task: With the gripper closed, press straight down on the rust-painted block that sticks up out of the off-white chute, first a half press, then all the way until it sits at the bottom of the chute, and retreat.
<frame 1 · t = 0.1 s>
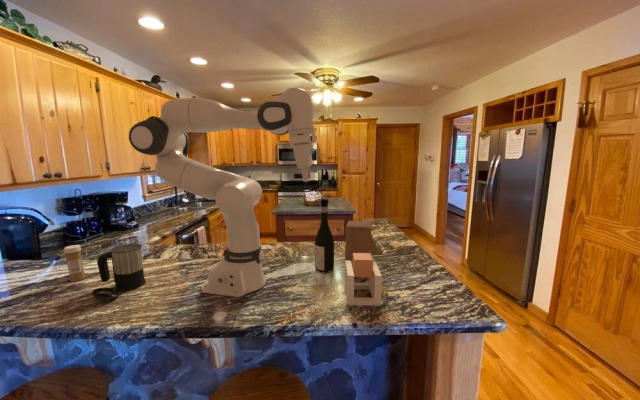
hand: (307, 180, 90), 39 cm above the counter, tool pointing down, fingers open, 8 cm apart
block: (362, 264, 87), point 11 cm above the counter, slide at 8.0 cm
wine bottle: (324, 270, 109), on the counter
wooden block: (357, 270, 109), on the counter
pill bottle: (77, 279, 101), on the counter
chute: (361, 295, 89), on the counter
milk frother: (121, 291, 92), on the counter
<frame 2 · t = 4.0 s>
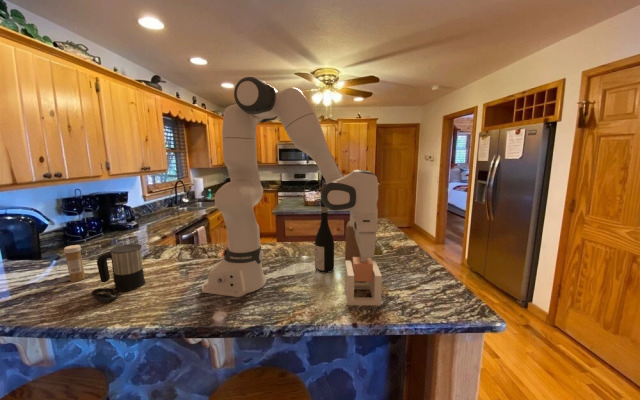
hand: (363, 260, 87), 13 cm above the counter, tool pointing down, fingers closed, pressing on block
block: (362, 268, 87), point 10 cm above the counter, slide at 6.6 cm, touching gripper
everything else where it was.
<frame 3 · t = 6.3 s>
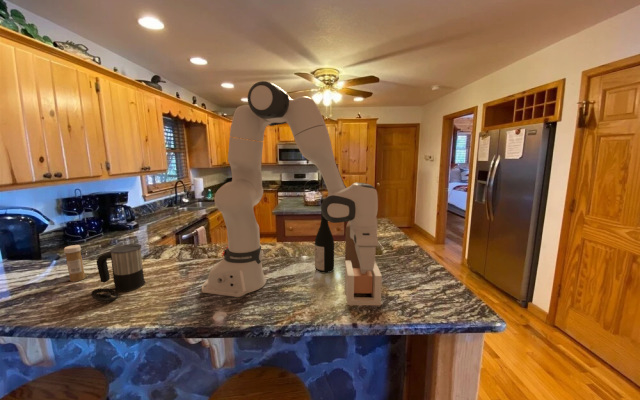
hand: (362, 271, 87), 8 cm above the counter, tool pointing down, fingers closed, pressing on block
block: (362, 280, 88), point 5 cm above the counter, slide at 2.4 cm, touching gripper
everything else where it was.
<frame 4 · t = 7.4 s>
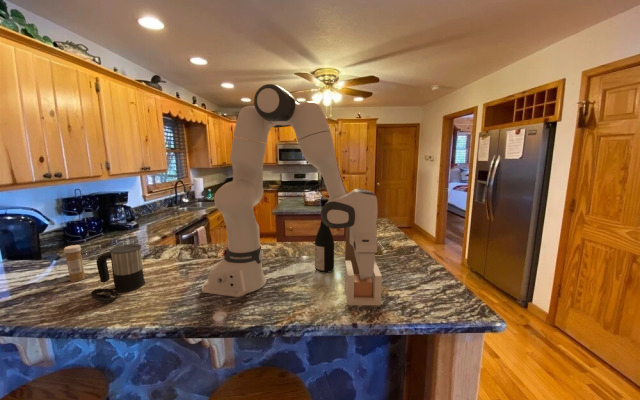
hand: (361, 277, 88), 6 cm above the counter, tool pointing down, fingers closed
block: (361, 286, 88), point 3 cm above the counter, slide at 0.3 cm
everything else where it was.
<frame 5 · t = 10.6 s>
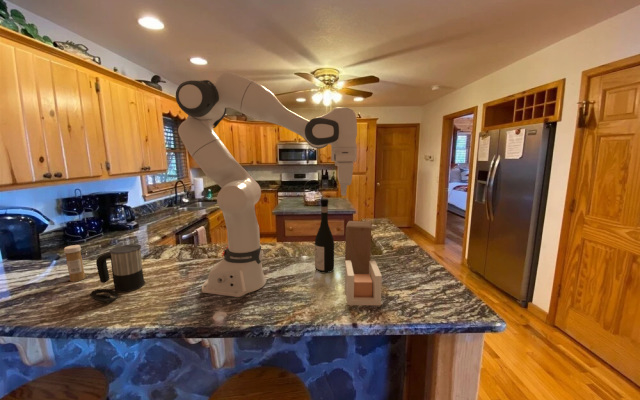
hand: (343, 195, 93), 33 cm above the counter, tool pointing down, fingers closed
nothing on the counter moved.
at the end: block slide at 0.3 cm; the gripper is holding nothing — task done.
